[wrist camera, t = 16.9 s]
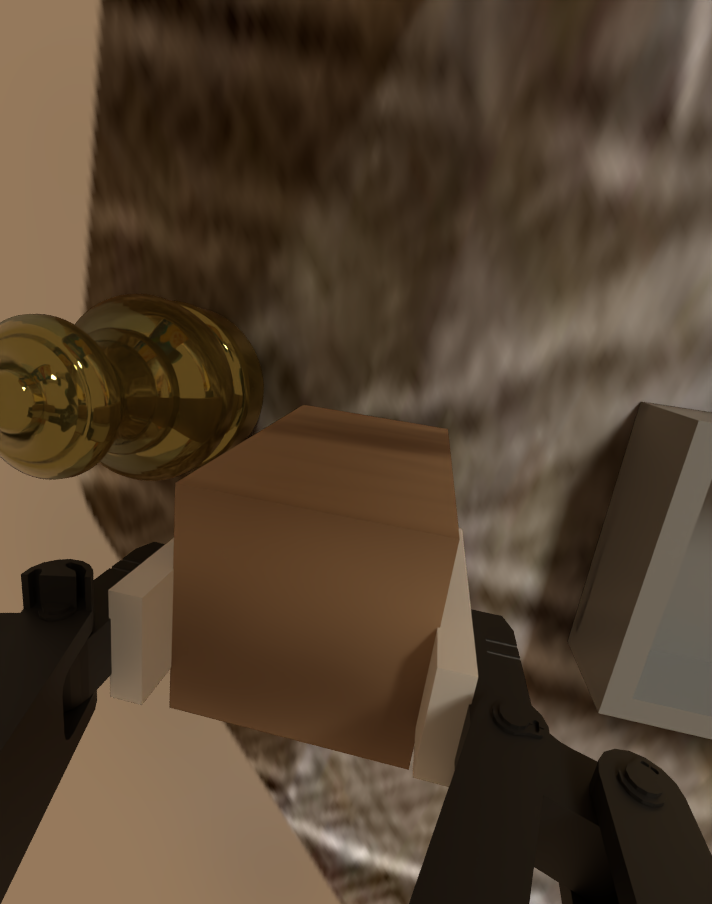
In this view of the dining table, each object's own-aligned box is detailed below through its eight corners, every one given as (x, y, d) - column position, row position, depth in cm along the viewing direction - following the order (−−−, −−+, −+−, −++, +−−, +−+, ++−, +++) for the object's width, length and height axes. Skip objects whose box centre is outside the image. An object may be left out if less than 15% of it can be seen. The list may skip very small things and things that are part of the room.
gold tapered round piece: (103, 401, 24) (-136, 427, 14) (172, 273, 22) (-48, 201, 12) (216, 490, 23) (52, 579, 14) (297, 368, 21) (173, 373, 12)
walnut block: (303, 404, 19) (175, 483, 10) (448, 429, 19) (459, 539, 9) (290, 534, 21) (169, 707, 12) (421, 561, 20) (408, 770, 11)
